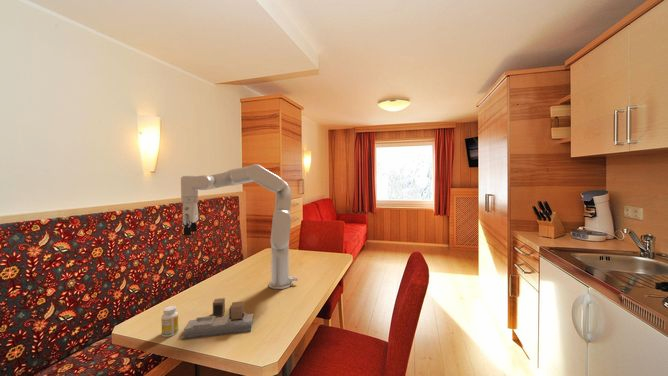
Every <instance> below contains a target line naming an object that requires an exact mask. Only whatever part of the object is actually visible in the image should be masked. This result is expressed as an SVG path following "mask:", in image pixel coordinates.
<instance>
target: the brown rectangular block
mask: <svg viewBox="0 0 668 376" xmlns="http://www.w3.org/2000/svg"><path fill="white" fill-rule="evenodd" d="M225 312H226V298H225V297H222V298H215V299H214V300H213V302H212V316H215V318H217V317H224V314H225Z"/></svg>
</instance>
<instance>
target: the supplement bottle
mask: <svg viewBox="0 0 668 376" xmlns="http://www.w3.org/2000/svg"><path fill="white" fill-rule="evenodd" d="M178 332H179V312H178V311H177V306H176V305H169V306H167V307H164V308H163V314H162V315H161V336H162V337H165V338H168V337H173V336H174V335H176V334H177V333H178Z"/></svg>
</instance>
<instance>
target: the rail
mask: <svg viewBox="0 0 668 376" xmlns="http://www.w3.org/2000/svg"><path fill="white" fill-rule="evenodd" d="M228 309H229V310H228V313H229V314H228V315H227V316H217V317H215V316H213V315H211V316H201V317H199V316H198V317H196V318H195V319H193V320H192V319H191V320H190V319H189V321H188V322H187V324H186V325H185V327H184V329H183V335H182V337H181V340H183V341H184V340H190V339H191V340H192V339H198V338H199V339H200V338H209V337H216V336H224V335H232V334H233V335H234V334H241V333H248V332H249V333H250V332H252V327H253V323H254V319H255V318H254V314H253V313H247V312H244V301H235V302H234V301H233V302H232V303H231V305H230V307H229V308H228Z"/></svg>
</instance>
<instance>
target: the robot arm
mask: <svg viewBox="0 0 668 376" xmlns="http://www.w3.org/2000/svg"><path fill="white" fill-rule="evenodd" d="M253 182H254V183H256V184H258V185H259V186H261V187H262V188H264V189H266V190H268V191H270V192H271V193H275V201H274V202H275V205H274V211H273V215H272V222H271V223H272V224H271V233H270V248H271V249H270V250H271V251H270V252H271V253H270V255H271V257H270V259H271V261H270V263H271V264H270V265H271V271H270V272H271V281H269V283H268V288H270V289H272V290H273V289H274V290H285V289H287V288H289V287H291V286H292V285H293V282H297V281H298V280H299V279H298V276H295V275H294V276H292V275H290V250H289V249H290V244H289V243H290V238H291V228H292V215H291V211H292V210H291V209H292V208H291V207H292V191H291V188H290V185H289V184H288V183H287V181H285V180H284V179H282V177H280V176H278V175H277V174H274V173H273V172H271V171H270V170H268V169H266V168H265V167H263V166H262V165H260V164H258V163H256V164H255V163H254V164H251V165H248V166H244V167H243V166H242V167H238V168H237V167H236V168H232V169H229V170H227V171H225V172H222V173H221V172H220V173H217V174H215V173H214V174H210V175H204V174H202V175H182V176H181V177H180V199H181V204H182V224H183V226H182V228H183V236H184V237H185V236H191V235H192V233H193V232H197V231H198V227H197V226H198V224H197V223H198V222H197V221H199V218H200V217H199V208H198V207H199V206H198V203H199V190H200V191H207V190H215V189H218V188H219V189H220V188H224V187H228V186H231V187H233V186H238V185H243V184H248V183H253Z"/></svg>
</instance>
